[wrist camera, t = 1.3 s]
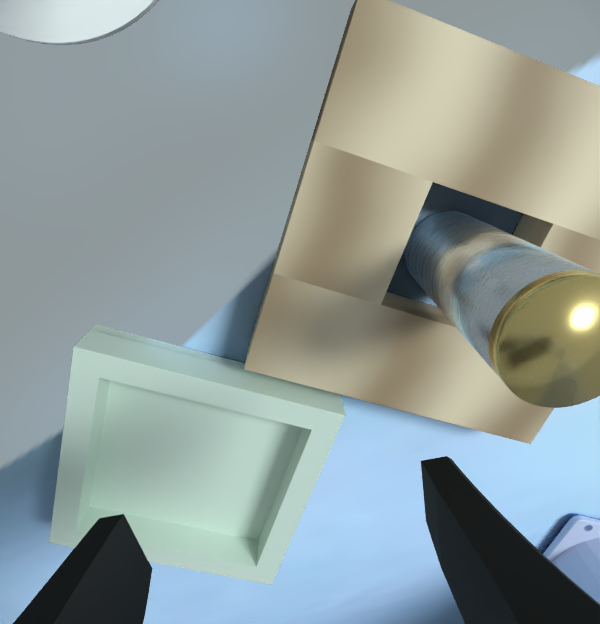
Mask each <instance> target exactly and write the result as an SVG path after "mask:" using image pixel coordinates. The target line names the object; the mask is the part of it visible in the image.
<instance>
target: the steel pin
mask: <svg viewBox="0 0 600 624" xmlns="http://www.w3.org/2000/svg"><path fill="white" fill-rule="evenodd" d="M405 262H406V266H407V269H408V271H409V273H410V274H411V276H412V277H413V278H414V279H415V280H416V282H417V283H418V284H419V285H420V286H421V287H422V289H423V290H424V291H425V292H426V293H427V294H428V296H429V297H430V298H431V299H432V300H433V301H434V302H435V304H436V305H437V306H438V307H439V308H440V309H441V311H442V312H443V313H444V314H445V315H446V316H447V318H448V319H449V320H450V321H451V322H452V323H453V324H454V326H455V327H456V328H457V329H458V330H459V331H460V333H461V334H462V335H463V336H464V337H465V338H466V340H467V341H468V342H469V343H470V344H471V345H472V346H473V348H474V349H475V350H476V351H477V352H478V353H479V355H480V356H481V357H482V358H483V359H484V360H485V362H486V363H487V364H488V365H489V366H490V367H491V368H492V370H493V371H494V372H495V373H496V374H497V375H498V377H499V378H500V379H501V380H502V381H503V382H504V384H505V385H506V386H507V387H508V388H509V389H510V390H511V391H512V392H513V393H514V394H515V395H516V396H517V397H519V398H520V399H522V400H524V401H526V402H527V403H530V404H533V405H536V406H541V407H550V408H558V407H568V406H573V405H577V404H581V403H583V402H586V401H589V400H591V399H593V398H596V397H598V396H599V395H600V274H598V273H596V272H594V271H592V270H589V269H587V268H585V267H583V266H580V265H578V264H576V263H574V262H572V261H569V260H567V259H565V258H563V257H560V256H558V255H556V254H554V253H551V252H549V251H547V250H545V249H543V248H540V247H538V246H536V245H534V244H531V243H529V242H527V241H525V240H523V239H520V238H518V237H516V236H514V235H511V234H509V233H507V232H505V231H502V230H500V229H498V228H496V227H494V226H491V225H489V224H487V223H485V222H482V221H480V220H478V219H476V218H473V217H471V216H469V215H467V214H464V213H462V212H458V211H443V212H439V213H436V214H433V215H431V216H429V217H427V218H426V219H424V220H423V221H422V222H420V223H419V224H418V225H417V226H416V228H415V229H414V230H413V232H412V233H411V235H410V237H409V239H408V242H407V244H406V248H405Z"/></svg>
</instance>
